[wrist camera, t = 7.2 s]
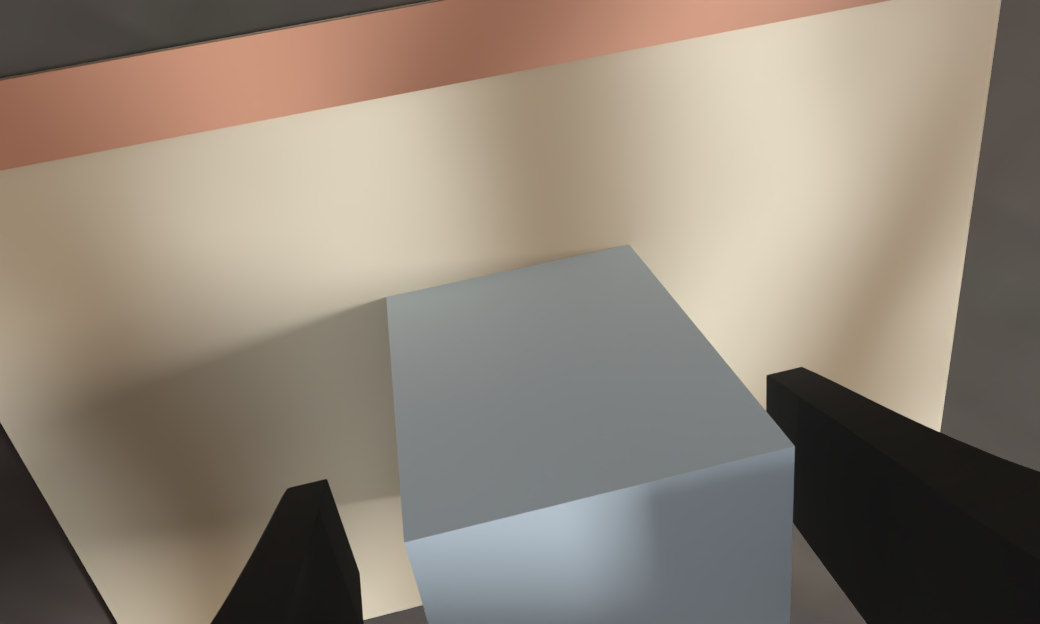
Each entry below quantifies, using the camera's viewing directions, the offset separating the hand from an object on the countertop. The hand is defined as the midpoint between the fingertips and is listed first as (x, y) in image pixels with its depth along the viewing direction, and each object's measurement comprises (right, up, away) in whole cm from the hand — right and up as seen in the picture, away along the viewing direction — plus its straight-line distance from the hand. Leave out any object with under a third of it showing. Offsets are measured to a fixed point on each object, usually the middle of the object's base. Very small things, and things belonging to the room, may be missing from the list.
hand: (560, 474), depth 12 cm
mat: (-1, +2, +2) cm, 3 cm away
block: (-1, +1, +2) cm, 3 cm away
